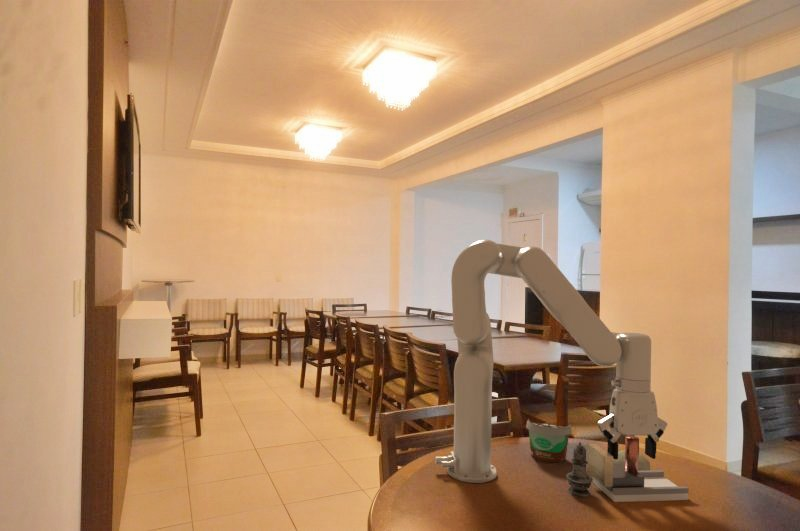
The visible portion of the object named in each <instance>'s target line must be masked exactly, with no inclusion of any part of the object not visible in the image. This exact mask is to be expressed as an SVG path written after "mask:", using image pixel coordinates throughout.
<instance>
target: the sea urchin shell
mask: <svg viewBox="0 0 800 531" xmlns="http://www.w3.org/2000/svg"><path fill="white" fill-rule="evenodd" d="M613 465H625V449H622V450H618V459H613ZM647 470H651V464H650V462H649V459H648V458H647V457H646V456H645V455H644V454H643V453H640V452H639V471H647Z"/></svg>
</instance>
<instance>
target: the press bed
mask: <svg viewBox="0 0 800 531" xmlns="http://www.w3.org/2000/svg"><path fill="white" fill-rule="evenodd" d="M639 474H640V475H642V476H643V477H644V487H636V488H612V491H611V490H610V489H608V488H607V487H604V486H603V485H601V484H600V483H599V482H598V481H597V480H596V479H595V478H593V477H592V479H593V481H592V483H593V484H594V485H595V486H596V487H597V488H598V489H599V490H601V491H602V492H603V493H604V494H605V495H606V496H607V497H608V498H610V499H611V501H613V502H614V503H620V502H622V503H626V502H656V501H657V502H659V501H661V502H662V501H689V491H690V490H689V487H687V486H686V485H685V486H684V485H683V486H682V485H681V486H678V485H677V484H675V483H674V482H672V481H671V480H669V479H668V478H667V477H665V473H664V470H662V469H659V470H658V469H655V470H654V469H652V470H651V469H650V470H647V471H639Z"/></svg>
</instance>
